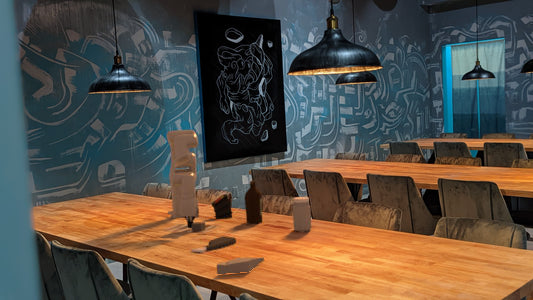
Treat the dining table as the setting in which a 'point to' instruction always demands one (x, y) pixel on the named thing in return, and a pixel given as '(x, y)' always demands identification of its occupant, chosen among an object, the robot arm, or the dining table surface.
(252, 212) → the olive oil
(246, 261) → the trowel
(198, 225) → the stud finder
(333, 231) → the dining table surface
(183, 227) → the panel
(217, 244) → the brown brush
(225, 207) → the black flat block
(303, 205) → the jar
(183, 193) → the robot arm
